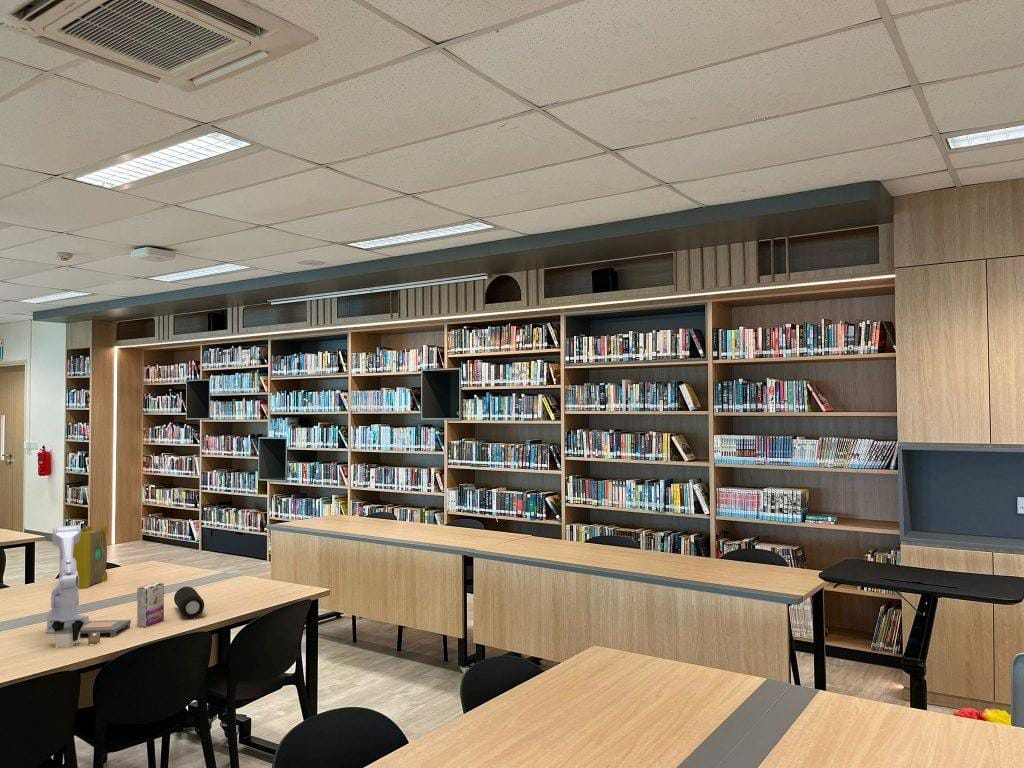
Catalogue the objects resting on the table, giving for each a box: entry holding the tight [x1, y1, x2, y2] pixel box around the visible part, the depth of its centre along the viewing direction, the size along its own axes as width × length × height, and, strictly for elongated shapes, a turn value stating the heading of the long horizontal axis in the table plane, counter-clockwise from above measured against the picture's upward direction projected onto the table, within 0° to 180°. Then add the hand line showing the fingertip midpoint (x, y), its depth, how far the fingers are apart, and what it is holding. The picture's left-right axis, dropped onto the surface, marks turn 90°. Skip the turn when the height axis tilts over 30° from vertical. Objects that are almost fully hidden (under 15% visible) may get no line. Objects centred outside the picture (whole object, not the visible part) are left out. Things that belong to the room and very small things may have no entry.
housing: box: [55, 626, 81, 648], centre depth 286 cm, size 5×8×6 cm, turn 3°
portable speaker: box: [173, 586, 205, 619], centre depth 331 cm, size 26×10×10 cm, turn 32°
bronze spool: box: [87, 632, 101, 645], centre depth 287 cm, size 4×4×4 cm
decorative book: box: [73, 525, 109, 589], centre depth 392 cm, size 20×11×30 cm, turn 0°
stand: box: [80, 619, 132, 637], centre depth 301 cm, size 18×14×3 cm
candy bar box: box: [136, 581, 165, 628], centre depth 314 cm, size 11×5×16 cm, turn 168°
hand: (67, 640), depth 286 cm, fingers closed on housing, 5 cm apart
